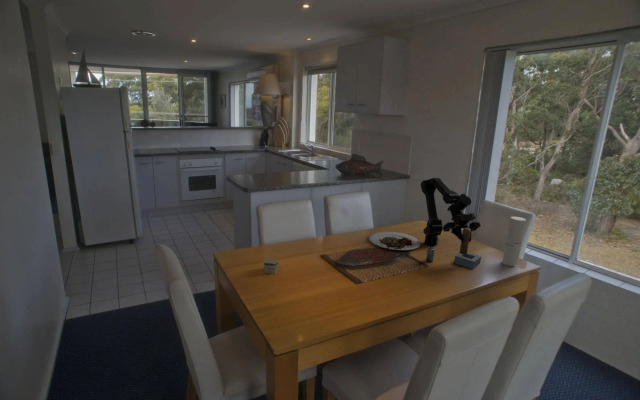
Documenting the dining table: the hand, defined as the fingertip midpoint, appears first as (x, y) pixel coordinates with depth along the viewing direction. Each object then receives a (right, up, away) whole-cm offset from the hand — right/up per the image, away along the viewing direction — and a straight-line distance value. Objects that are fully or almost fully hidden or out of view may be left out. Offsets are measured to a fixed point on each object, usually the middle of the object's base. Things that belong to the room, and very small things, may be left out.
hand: (466, 241), depth 183 cm
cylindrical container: (+27, -13, +11) cm, 32 cm away
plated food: (-30, -5, +32) cm, 44 cm away
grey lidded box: (-97, -12, -14) cm, 99 cm away
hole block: (+3, -12, +8) cm, 15 cm away
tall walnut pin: (-1, -6, +3) cm, 7 cm away
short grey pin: (-17, -11, +8) cm, 21 cm away
